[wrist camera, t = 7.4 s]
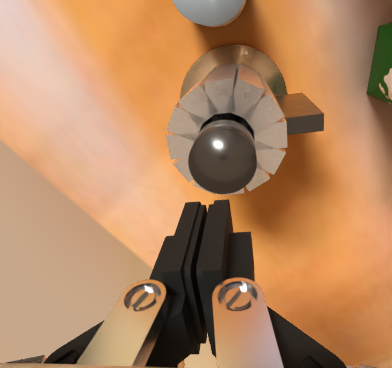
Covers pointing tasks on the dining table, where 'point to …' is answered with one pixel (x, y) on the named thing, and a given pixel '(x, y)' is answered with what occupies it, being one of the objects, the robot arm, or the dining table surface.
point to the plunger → (223, 156)
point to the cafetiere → (240, 107)
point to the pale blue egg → (210, 11)
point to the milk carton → (382, 66)
